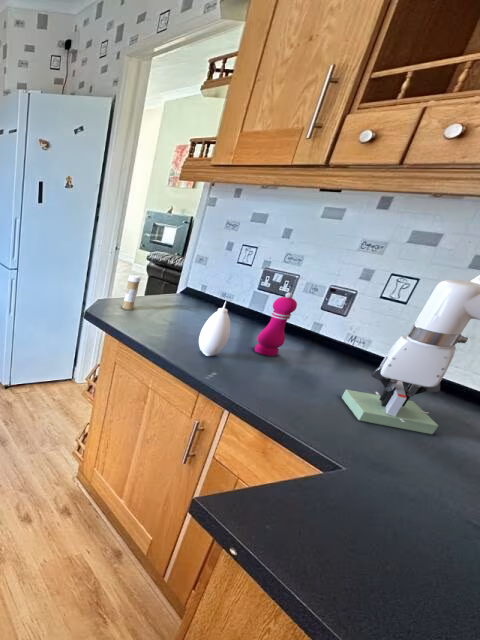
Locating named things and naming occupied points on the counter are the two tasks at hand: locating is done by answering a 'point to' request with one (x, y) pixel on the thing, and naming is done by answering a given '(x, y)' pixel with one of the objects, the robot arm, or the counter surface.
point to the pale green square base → (374, 412)
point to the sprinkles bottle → (131, 292)
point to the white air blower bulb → (215, 332)
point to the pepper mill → (276, 326)
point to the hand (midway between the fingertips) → (389, 405)
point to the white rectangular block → (396, 399)
